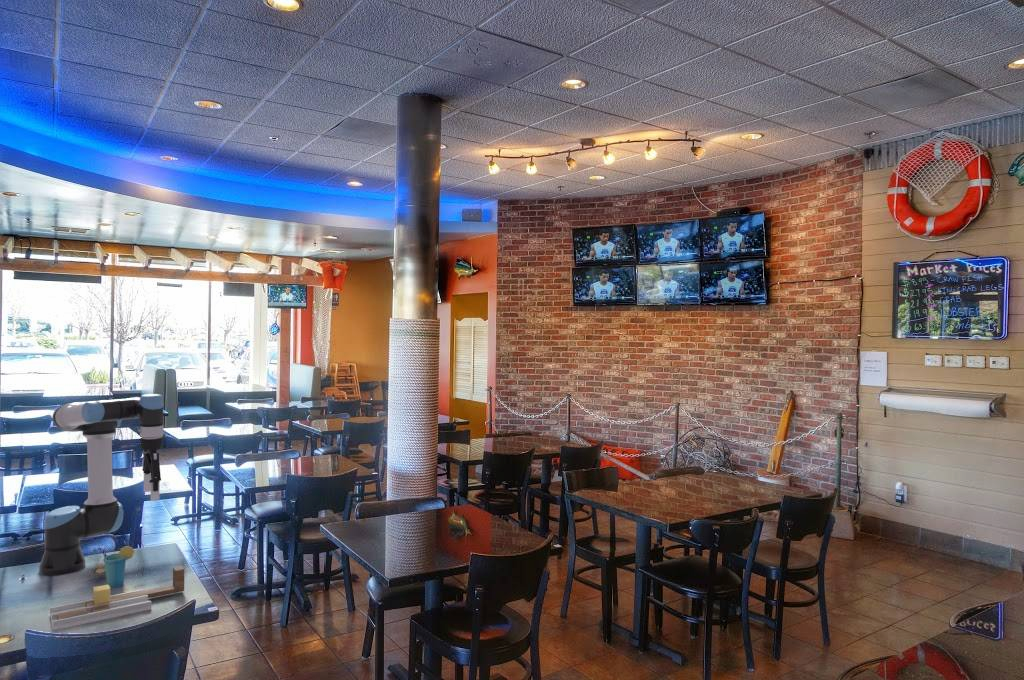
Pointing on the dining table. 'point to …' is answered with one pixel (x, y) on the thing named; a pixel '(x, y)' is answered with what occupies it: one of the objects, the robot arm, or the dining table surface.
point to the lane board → (115, 610)
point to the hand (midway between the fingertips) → (151, 495)
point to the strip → (176, 587)
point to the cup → (116, 565)
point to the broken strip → (82, 612)
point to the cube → (101, 594)
